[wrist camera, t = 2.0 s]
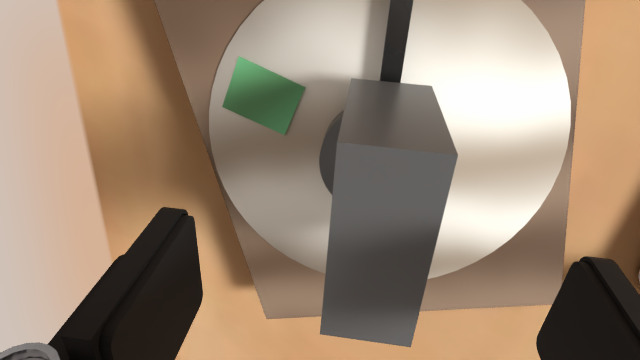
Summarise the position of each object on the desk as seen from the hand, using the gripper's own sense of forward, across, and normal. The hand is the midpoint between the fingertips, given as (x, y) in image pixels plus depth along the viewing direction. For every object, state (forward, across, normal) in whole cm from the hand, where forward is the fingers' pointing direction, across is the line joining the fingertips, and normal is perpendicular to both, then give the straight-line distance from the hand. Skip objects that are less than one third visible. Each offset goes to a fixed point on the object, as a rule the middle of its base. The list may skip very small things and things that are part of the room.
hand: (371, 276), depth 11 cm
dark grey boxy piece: (+9, 0, -1) cm, 9 cm away
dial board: (+12, 0, +1) cm, 12 cm away
